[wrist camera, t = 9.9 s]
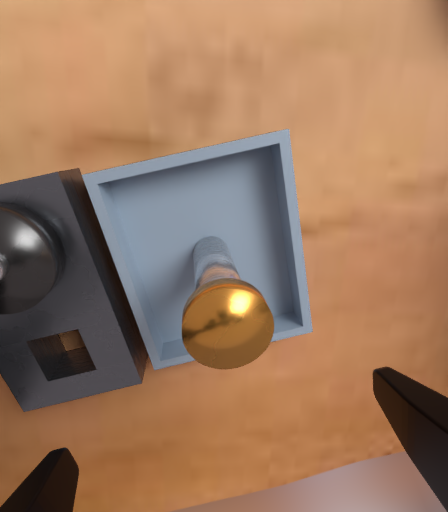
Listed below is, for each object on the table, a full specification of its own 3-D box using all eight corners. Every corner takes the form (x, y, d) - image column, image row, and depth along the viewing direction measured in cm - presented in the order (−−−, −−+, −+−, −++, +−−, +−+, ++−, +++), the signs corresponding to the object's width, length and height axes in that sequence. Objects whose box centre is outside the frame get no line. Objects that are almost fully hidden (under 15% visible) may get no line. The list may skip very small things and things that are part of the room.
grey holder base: (45, 378, 22) (2, 446, 17) (-55, 198, 17) (-156, 218, 12) (148, 353, 23) (135, 413, 18) (78, 167, 18) (33, 175, 12)
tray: (158, 346, 22) (154, 370, 20) (95, 171, 18) (81, 175, 15) (300, 312, 23) (312, 331, 20) (276, 131, 18) (288, 128, 16)
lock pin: (191, 283, 20) (194, 378, 12) (177, 234, 19) (170, 302, 11) (241, 270, 20) (280, 356, 12) (231, 221, 19) (266, 279, 11)
